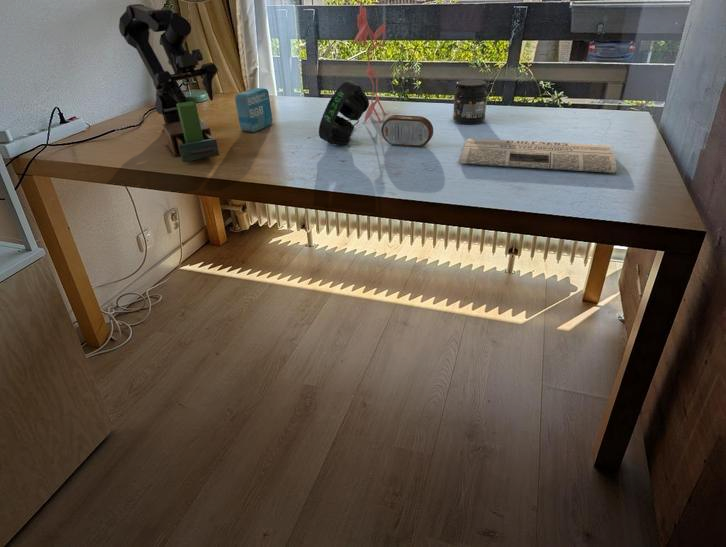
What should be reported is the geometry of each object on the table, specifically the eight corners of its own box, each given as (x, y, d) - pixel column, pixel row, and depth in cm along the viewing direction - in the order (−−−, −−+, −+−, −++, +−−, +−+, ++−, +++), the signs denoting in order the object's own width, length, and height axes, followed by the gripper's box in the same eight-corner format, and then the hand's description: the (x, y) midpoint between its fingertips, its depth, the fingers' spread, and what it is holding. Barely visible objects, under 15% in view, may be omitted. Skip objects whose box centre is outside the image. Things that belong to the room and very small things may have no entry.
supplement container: (457, 115, 169) (460, 78, 162) (488, 117, 165) (491, 80, 158) (448, 123, 161) (450, 85, 154) (480, 126, 157) (483, 86, 150)
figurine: (391, 108, 181) (389, 0, 162) (378, 128, 159) (375, 6, 141) (350, 108, 184) (344, 1, 165) (333, 127, 162) (323, 8, 144)
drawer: (222, 158, 138) (219, 142, 136) (186, 166, 134) (181, 149, 132) (209, 144, 150) (205, 128, 148) (175, 150, 146) (171, 134, 144)
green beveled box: (187, 149, 144) (176, 103, 137) (202, 146, 145) (192, 101, 138) (190, 153, 140) (179, 106, 133) (206, 150, 142) (195, 104, 135)
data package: (251, 133, 161) (245, 95, 155) (240, 132, 163) (234, 94, 157) (273, 123, 170) (268, 87, 163) (262, 122, 172) (257, 86, 165)
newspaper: (459, 166, 127) (460, 155, 126) (468, 143, 143) (469, 133, 141) (614, 175, 117) (617, 164, 116) (606, 149, 133) (608, 139, 131)
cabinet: (214, 149, 149) (209, 128, 145) (175, 156, 144) (170, 134, 141) (204, 138, 159) (199, 118, 155) (167, 144, 155) (162, 124, 151)
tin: (433, 145, 143) (434, 115, 138) (430, 148, 140) (431, 118, 136) (383, 142, 147) (383, 113, 143) (380, 145, 145) (379, 116, 140)
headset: (351, 159, 161) (332, 142, 132) (316, 138, 162) (289, 118, 134) (379, 110, 158) (365, 82, 130) (343, 89, 160) (322, 58, 131)
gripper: (149, 44, 135) (173, 100, 137) (211, 34, 144) (233, 86, 146) (143, 62, 144) (166, 113, 147) (202, 52, 154) (223, 100, 156)
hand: (198, 103), depth 149 cm, fingers open, 9 cm apart
